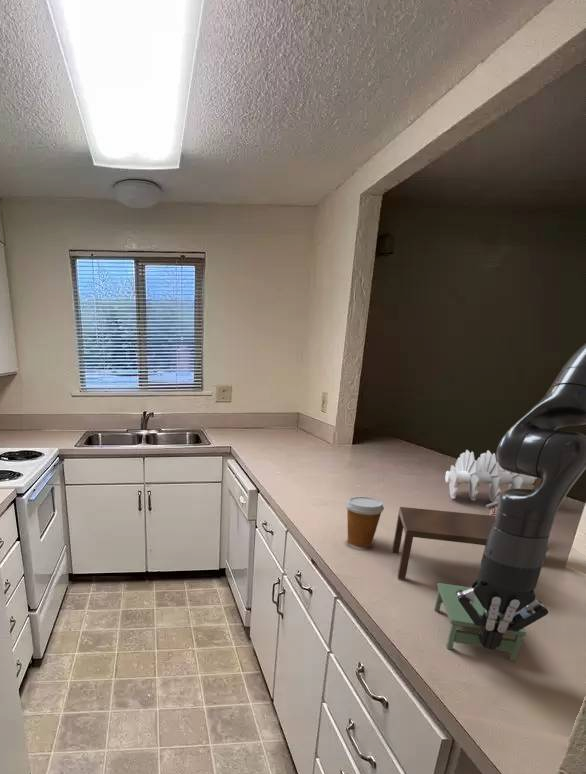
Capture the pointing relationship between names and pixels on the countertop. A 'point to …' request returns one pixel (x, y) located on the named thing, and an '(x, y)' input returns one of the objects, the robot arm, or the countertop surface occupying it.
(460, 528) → the side table
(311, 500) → the countertop surface
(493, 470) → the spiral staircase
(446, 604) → the stool
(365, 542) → the disposable coffee cup
